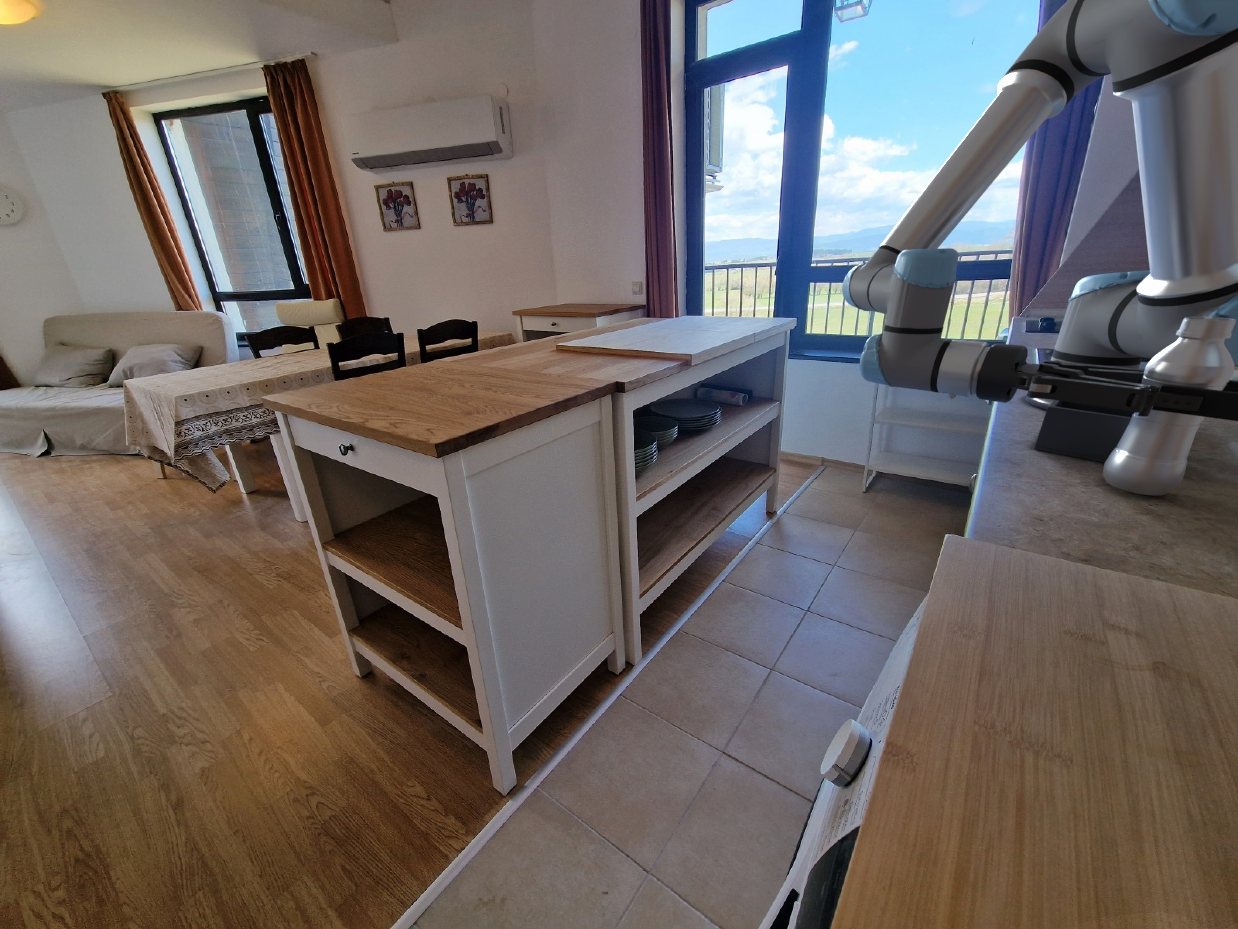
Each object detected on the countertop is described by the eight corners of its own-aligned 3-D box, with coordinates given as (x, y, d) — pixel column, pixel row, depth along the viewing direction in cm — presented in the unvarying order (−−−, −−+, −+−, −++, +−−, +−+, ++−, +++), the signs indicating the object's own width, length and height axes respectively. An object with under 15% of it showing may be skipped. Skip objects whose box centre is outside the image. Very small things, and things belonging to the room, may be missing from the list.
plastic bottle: (1082, 479, 61) (1145, 316, 53) (1135, 477, 61) (1207, 314, 53) (1132, 503, 55) (1212, 323, 47) (1191, 501, 55) (1281, 321, 47)
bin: (1047, 431, 78) (1060, 391, 75) (1143, 447, 70) (1161, 404, 68) (1033, 449, 71) (1047, 406, 69) (1138, 469, 64) (1158, 422, 61)
